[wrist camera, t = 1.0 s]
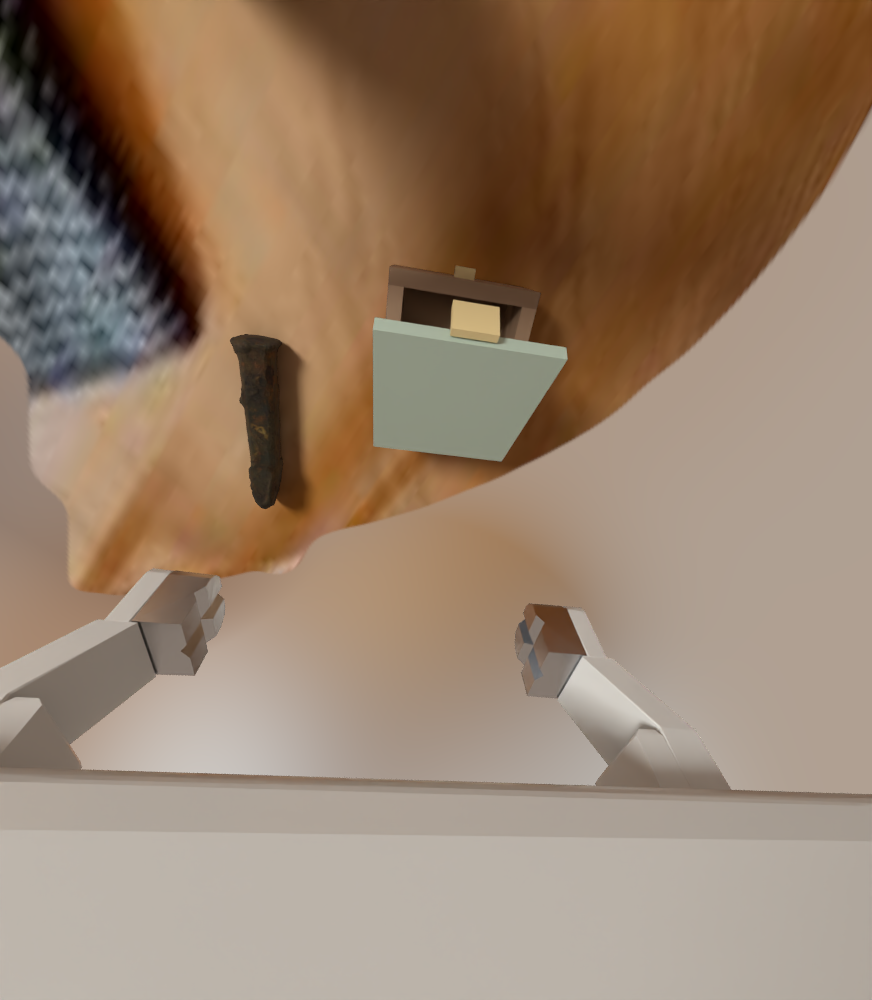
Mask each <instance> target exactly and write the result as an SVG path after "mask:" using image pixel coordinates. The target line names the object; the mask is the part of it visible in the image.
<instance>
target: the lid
mask: <svg viewBox="0 0 872 1000" xmlns="http://www.w3.org/2000/svg"><path fill="white" fill-rule="evenodd" d="M567 360H568V359H567V349H566V347H560V346H553V345H547V344H541V343H534V342H528V341H522V340H515V339H509V338H503V337H500V307H495V306H489V305H483V304H477V303H471V302H465V301H459V300H453V303H452V308H451V328H450V329H446V328H439V327H433V326H427V325H420V324H414V323H408V322H401V321H395V320H389V319H382V318H376V317H375V320H374V326H373V439H374V446H376V447H384V448H392V449H401V450H409V451H418V452H426V453H434V454H443V455H451V456H459V457H468V458H476V459H485V460H493V461H502V460H503V458H504V457H505V455H506V454H507V452H508V451H509V449H510V448H511V446H512V445H513V443H514V441H515V440H516V438H517V437H518V435H519V434H520V432H521V431H522V429H523V428H524V426H525V424H526V423H527V421H528V420H529V418H530V417H531V415H532V414H533V412H534V411H535V409H536V407H537V406H538V404H539V403H540V401H541V400H542V398H543V397H544V395H545V394H546V392H547V390H548V389H549V387H550V386H551V384H552V383H553V381H554V380H555V378H556V377H557V375H558V373H559V372H560V370H561V369H562V367H563V366H564V364H565V363H566V361H567Z"/></svg>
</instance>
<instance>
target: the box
mask: <svg viewBox="0 0 872 1000" xmlns="http://www.w3.org/2000/svg"><path fill="white" fill-rule="evenodd" d="M475 272H476V269H473V268H467V267H462V266H456V265H455V271H454V275H450V274H444V273H439V272H433V271H427V270H422V269H416V268H410V267H404V266H399V265H392V266H390V268H389V282H388V295H387V308H386V319H389V320H395V321H401V322H408V323H414V324H420V325H427V326H433V327H439V328H446V329H450V328H451V308H452V303H453V300H459V301H465V302H471V303H477V304H483V305H489V306H495V307H500V337H503V338H509V339H515V340H522V341H528V340H529V336H530V333H531V329H532V325H533V321H534V317H535V314H536V310H537V306H538V302H539V298H540V294H541V293H539V292H536V291H533V290H530V289H527V288H523V287H519V286H513V285H507V284H502V283H496V282H490V281H484V280H479V279H474V278H475Z"/></svg>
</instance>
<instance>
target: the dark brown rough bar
mask: <svg viewBox="0 0 872 1000" xmlns="http://www.w3.org/2000/svg"><path fill="white" fill-rule="evenodd" d="M230 342H231V344H232V346H233V349H234V351H235V353H236V354H237V356H238V360H239V366H240V375H241V382H242V388H241V391H242V393H241V397H240V400H239V401H240V403H241V404H242V405H243V407H244V409H245V417H246V426H247V433H248V442H249V449H250V456H251V467H250V468H249V478H250V480H251V485H250V487H251V489H252V490H253V491H252V494H253V497H254V499H255V502H256V503H257V504H258V505H259V506H260V507H261V508H264V509H267V508H269V507H270V506H272V505H274V504H275V501H276V497H277V494H278V492H279V487H280V482H281V473H282V466H283V461H282V458H281V457H280V420H279V385H278V376H277V350H278V347H279V346H280V345H281V344H282V342H281V341H280V340H278V339H274V338H269V337H265V336H259V335H248V334H245V335H240V336H237V337H233V338H231V339H230Z"/></svg>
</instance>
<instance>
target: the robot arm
mask: <svg viewBox="0 0 872 1000" xmlns="http://www.w3.org/2000/svg"><path fill="white" fill-rule="evenodd" d="M221 587H222V585H221V580H220V577H219V576H216V575H209V574H200V573H192V572H183V571H171V570H162V569H154V568H153V569H151V570H149V571H148V572H146V573H145V574H144V575H143V576H142V578H141V579H140V580H139V581H138V582H137V583H136V584H135V586H134V587H133V588H132V589H131V590H130V591H129V592H128V594H127V595H126V596H125V597H124V598H123V599H122V600H121V601H120V603H119V604H118V605H117V606H116V607H115V608H114V610H113V611H112V612H111V613H110V614H109V615H108V616H107V618H106V619H105V620H95V621H93V622H91V623H89V624H87V625H85V626H83V627H81V628H79V629H78V630H75V631H73V632H71V633H69V634H67V635H65V636H63V637H61V638H59V639H57V640H56V641H53V642H51V643H50V644H47V645H45V646H43V647H42V648H39V649H37V650H35V651H33V652H31V653H29V654H28V655H26V656H24V657H22V658H20V659H18V660H16V661H14V662H12V663H10V664H8V665H6V666H4V667H2V668H0V1000H872V794H845V793H814V792H781V791H779V792H778V791H750V790H731V789H730V787H729V785H728V783H727V782H726V780H725V779H724V777H723V775H722V773H721V772H720V770H719V768H718V767H717V765H716V763H715V761H714V760H713V758H712V756H711V755H710V753H709V751H708V750H707V748H706V746H705V745H704V743H703V741H702V739H701V738H700V736H699V734H698V733H697V731H696V730H695V729H694V728H693V727H691V726H690V725H689V724H688V723H687V722H686V721H684V720H683V719H682V718H681V717H680V716H679V715H677V714H676V713H675V712H674V711H673V710H672V709H670V708H669V707H668V706H667V705H666V704H665V703H663V702H662V701H661V700H660V699H659V698H658V697H657V696H655V695H654V694H653V693H652V692H651V691H650V690H648V689H647V688H646V687H645V686H644V685H643V684H641V683H640V682H639V681H638V680H637V679H636V678H635V677H633V676H632V675H631V674H630V673H629V672H628V671H627V670H625V669H624V668H623V667H622V666H621V665H619V664H618V663H617V662H616V661H615V660H614V659H613V658H607V657H606V655H605V652H604V651H603V648H602V646H601V644H600V642H599V640H598V638H597V636H596V634H595V632H594V630H593V628H592V626H591V624H590V622H589V620H588V617H587V615H586V613H585V611H584V610H583V609H582V608H580V607H567V606H563V607H562V606H553V605H543V604H528V605H527V606H526V608H525V610H524V612H523V614H524V617H525V620H524V621H522V622H521V623H519V624H518V627H517V630H516V634H515V649H516V654H517V658H518V659H519V660H520V661H521V662H522V663H523V664H524V668H523V670H522V672H521V674H522V678H523V682H524V686H525V690H526V694H527V696H536V697H546V698H547V697H548V698H557V701H558V702H559V703H560V704H561V706H562V707H563V708H564V709H565V711H566V712H567V713H568V715H569V716H570V717H571V718H572V720H573V721H574V722H575V723H576V725H577V726H578V727H579V728H580V730H581V731H582V732H583V734H584V735H585V736H586V737H587V739H588V740H589V741H590V743H591V744H592V745H593V746H594V748H595V749H596V750H597V751H598V753H599V754H600V755H601V757H602V758H603V759H604V760H605V761H606V763H607V764H608V765H609V766H608V767H607V768H606V770H605V771H604V772H603V773H602V775H601V776H600V777H599V778H598V780H597V782H596V783H595V784H596V786H585V785H553V784H523V783H522V784H521V783H493V782H491V783H490V782H460V781H429V780H400V779H399V780H398V779H367V778H336V777H335V778H334V777H304V776H271V775H270V776H269V775H239V774H238V775H237V774H207V773H176V772H144V771H111V770H110V771H109V770H81V768H82V767H81V762H80V760H79V758H78V757H77V755H76V754H75V752H74V751H73V749H72V748H71V746H70V744H71V743H72V742H73V741H75V740H76V739H77V738H79V737H80V736H81V735H82V734H83V733H85V732H86V731H87V730H89V729H90V728H91V727H92V726H94V725H95V724H96V723H98V722H99V721H100V720H101V719H103V718H104V717H105V716H106V715H108V714H109V713H110V712H112V711H113V710H114V709H115V708H117V707H118V706H119V705H120V704H122V703H123V702H124V701H126V700H127V699H128V698H129V697H130V696H132V695H133V694H134V693H136V692H137V691H138V690H139V689H141V688H142V687H143V686H144V685H146V684H147V683H148V682H150V681H151V680H152V679H153V678H155V677H156V674H161V675H190V676H194V675H195V674H196V672H197V670H198V668H199V667H200V665H201V663H202V661H203V659H204V657H205V655H206V654H207V652H208V650H207V645H206V642H208V641H209V640H211V639H212V638H214V637H215V636H216V635H217V633H218V631H219V629H220V628H221V625H222V622H223V618H224V615H225V603H224V599H223V598H222V597H221V596H220V595H219V594H218V592H219V590H220V589H221Z"/></svg>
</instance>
